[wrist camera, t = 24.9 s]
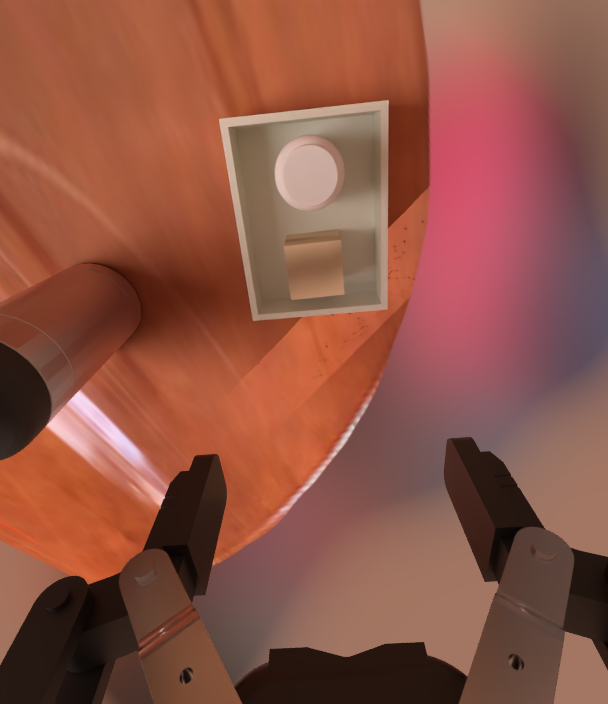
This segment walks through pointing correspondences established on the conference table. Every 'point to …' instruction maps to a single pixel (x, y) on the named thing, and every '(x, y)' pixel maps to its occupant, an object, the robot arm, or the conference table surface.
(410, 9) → the conference table surface
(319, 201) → the supplement bottle
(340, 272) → the birch cube
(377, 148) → the box
